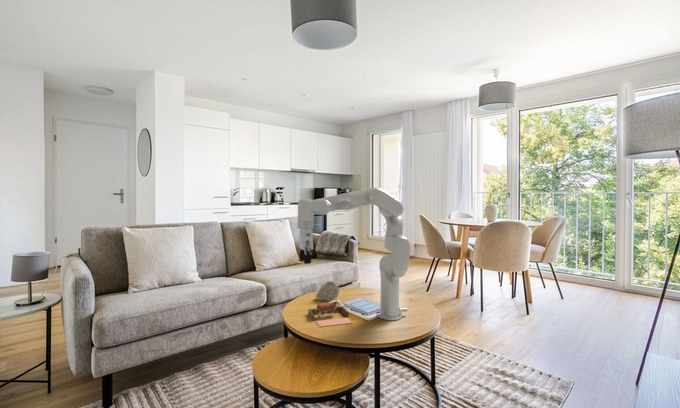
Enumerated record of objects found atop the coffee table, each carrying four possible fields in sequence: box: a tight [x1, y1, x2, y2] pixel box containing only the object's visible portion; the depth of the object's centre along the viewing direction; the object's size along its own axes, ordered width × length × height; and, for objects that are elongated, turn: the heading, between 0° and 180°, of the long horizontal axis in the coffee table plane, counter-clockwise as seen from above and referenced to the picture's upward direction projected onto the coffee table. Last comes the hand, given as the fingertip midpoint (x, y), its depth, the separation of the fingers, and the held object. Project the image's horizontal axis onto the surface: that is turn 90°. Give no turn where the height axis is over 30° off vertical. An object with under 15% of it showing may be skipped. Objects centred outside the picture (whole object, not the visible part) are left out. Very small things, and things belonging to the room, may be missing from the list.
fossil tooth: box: [315, 280, 341, 302], centre depth 192 cm, size 12×6×15 cm
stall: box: [307, 305, 350, 322], centre depth 166 cm, size 19×10×2 cm, turn 108°
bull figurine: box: [316, 299, 343, 319], centre depth 165 cm, size 4×13×8 cm, turn 112°
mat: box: [316, 317, 353, 328], centre depth 156 cm, size 16×7×1 cm, turn 108°
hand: (305, 261), depth 152 cm, fingers open, 9 cm apart
